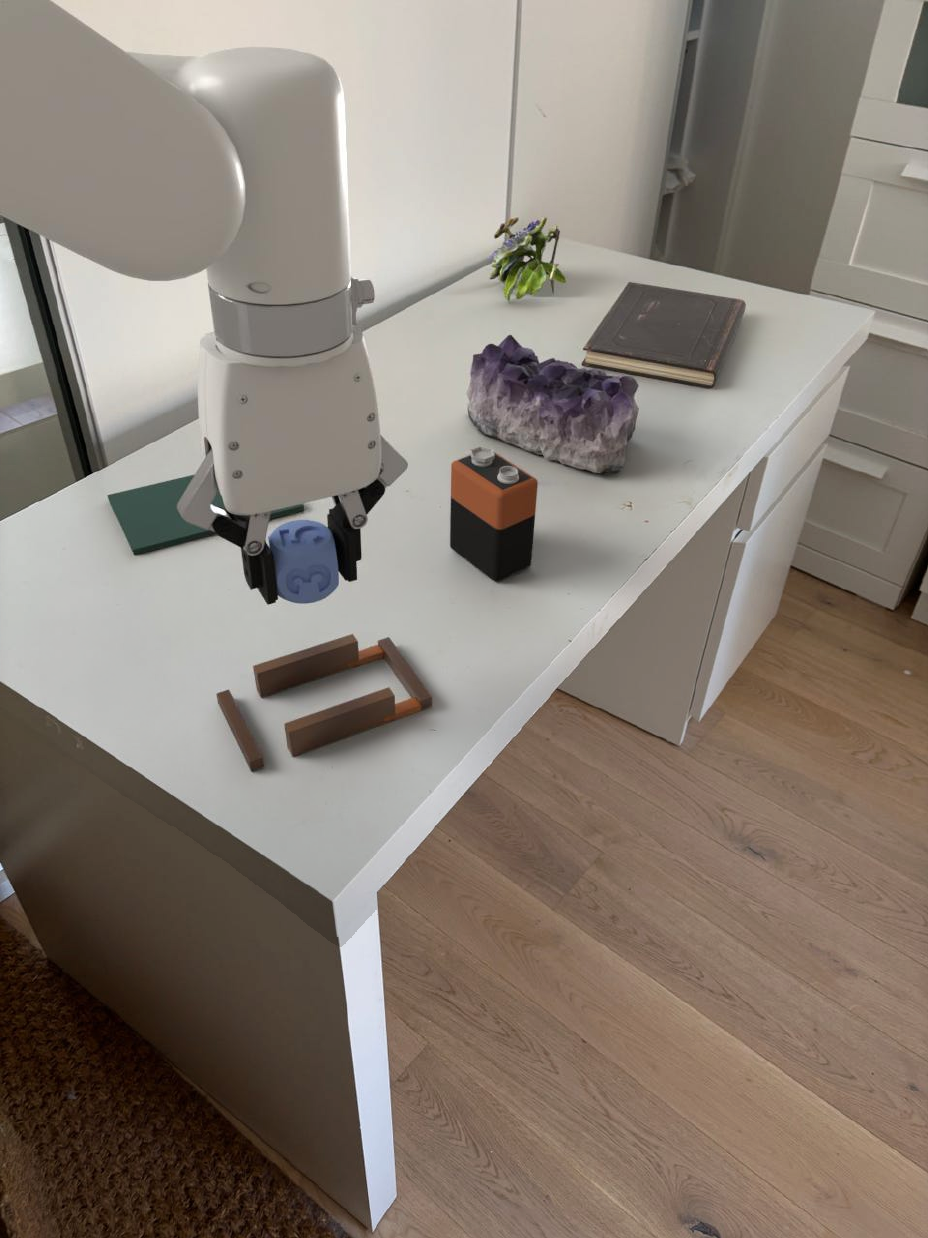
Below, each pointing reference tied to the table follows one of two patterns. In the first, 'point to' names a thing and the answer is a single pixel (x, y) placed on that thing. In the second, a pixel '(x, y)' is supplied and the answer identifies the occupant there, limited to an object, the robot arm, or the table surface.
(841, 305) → the table surface
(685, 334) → the hardcover book
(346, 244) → the robot arm
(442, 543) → the table surface
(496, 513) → the battery
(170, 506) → the mat
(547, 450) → the geode
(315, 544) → the decorative dice
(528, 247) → the passion flower
